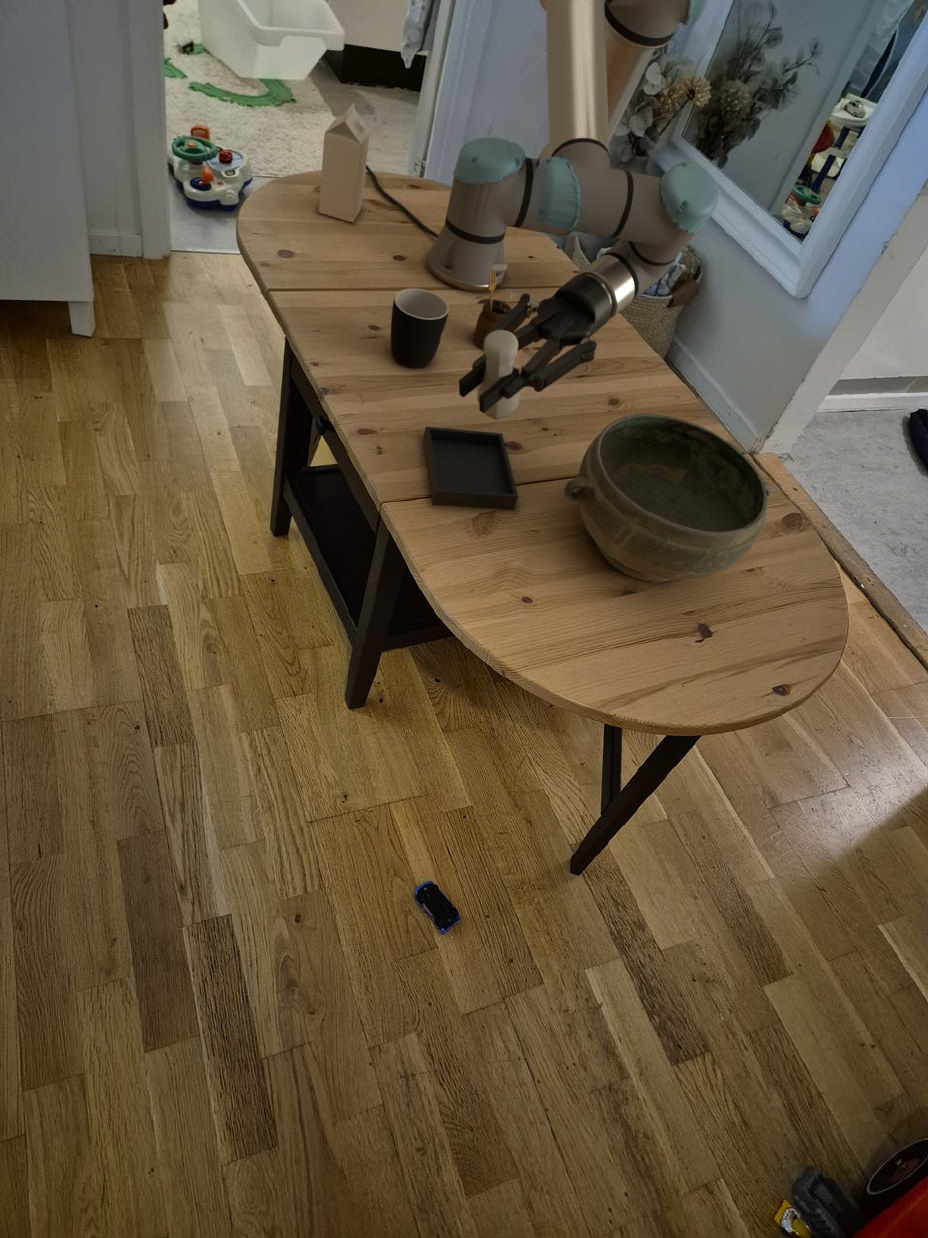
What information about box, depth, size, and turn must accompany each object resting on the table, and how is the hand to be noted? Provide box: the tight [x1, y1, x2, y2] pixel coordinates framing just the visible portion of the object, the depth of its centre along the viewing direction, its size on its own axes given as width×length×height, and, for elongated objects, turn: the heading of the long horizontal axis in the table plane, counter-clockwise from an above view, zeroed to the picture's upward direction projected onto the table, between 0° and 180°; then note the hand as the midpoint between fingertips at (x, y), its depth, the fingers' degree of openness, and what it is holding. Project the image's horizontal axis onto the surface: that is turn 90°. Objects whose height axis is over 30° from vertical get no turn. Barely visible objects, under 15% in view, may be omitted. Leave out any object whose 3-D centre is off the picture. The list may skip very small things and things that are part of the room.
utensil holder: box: [473, 270, 517, 350], centre depth 139 cm, size 6×6×12 cm
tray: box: [422, 426, 519, 511], centre depth 119 cm, size 14×12×3 cm
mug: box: [390, 287, 449, 369], centre depth 133 cm, size 12×9×10 cm
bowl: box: [564, 413, 772, 583], centre depth 113 cm, size 32×26×15 cm
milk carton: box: [318, 102, 371, 223], centre depth 155 cm, size 7×7×19 cm
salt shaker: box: [476, 330, 521, 421], centre depth 104 cm, size 6×6×13 cm
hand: (471, 396), depth 102 cm, fingers closed on salt shaker, 3 cm apart
